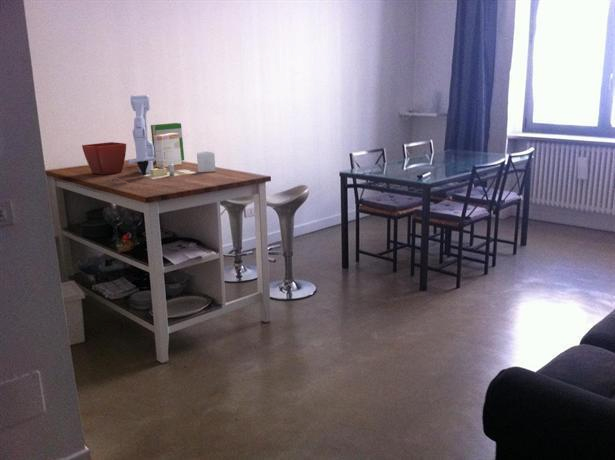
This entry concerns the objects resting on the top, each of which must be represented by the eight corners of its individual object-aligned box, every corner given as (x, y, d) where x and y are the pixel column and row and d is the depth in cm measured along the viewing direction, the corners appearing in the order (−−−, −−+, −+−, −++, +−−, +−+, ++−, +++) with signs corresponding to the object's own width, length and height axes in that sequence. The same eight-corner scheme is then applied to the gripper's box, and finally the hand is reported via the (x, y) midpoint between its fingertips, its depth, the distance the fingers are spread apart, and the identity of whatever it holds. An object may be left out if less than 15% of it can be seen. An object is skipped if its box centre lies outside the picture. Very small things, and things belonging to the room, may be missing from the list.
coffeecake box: (174, 163, 383) (171, 132, 378) (182, 164, 379) (179, 132, 374) (156, 167, 371) (152, 135, 366) (163, 167, 367) (160, 135, 362)
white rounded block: (213, 170, 348) (211, 149, 345) (216, 171, 345) (215, 149, 342) (197, 172, 343) (195, 151, 339) (200, 173, 339) (198, 151, 336)
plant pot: (114, 169, 369) (111, 141, 364) (130, 172, 355) (126, 143, 351) (84, 173, 356) (80, 145, 351) (99, 176, 342) (95, 147, 338)
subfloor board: (141, 176, 338) (141, 174, 338) (185, 170, 352) (185, 169, 351) (153, 180, 323) (152, 178, 323) (197, 174, 337) (197, 172, 337)
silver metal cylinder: (168, 175, 332) (167, 164, 331) (173, 174, 334) (172, 164, 332) (170, 176, 330) (169, 165, 328) (175, 175, 331) (174, 164, 330)
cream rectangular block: (150, 175, 335) (149, 168, 334) (164, 173, 339) (163, 166, 338) (153, 176, 331) (152, 169, 330) (167, 174, 335) (166, 167, 334)
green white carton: (158, 163, 385) (155, 125, 379) (154, 162, 391) (150, 125, 385) (184, 160, 395) (181, 123, 389) (179, 159, 401) (176, 122, 395)
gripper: (130, 152, 320) (133, 177, 323) (156, 149, 327) (159, 174, 331) (126, 151, 325) (129, 176, 329) (152, 148, 333) (154, 172, 336)
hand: (143, 175), depth 330 cm, fingers closed
